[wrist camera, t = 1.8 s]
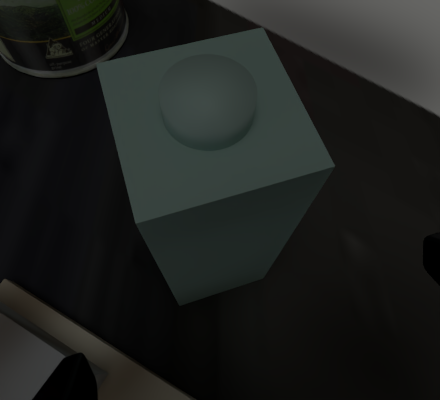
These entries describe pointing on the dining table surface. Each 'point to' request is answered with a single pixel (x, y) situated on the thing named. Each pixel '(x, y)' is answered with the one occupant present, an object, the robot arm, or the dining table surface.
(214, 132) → the pillar
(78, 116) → the dining table surface
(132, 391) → the board
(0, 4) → the coffee can
